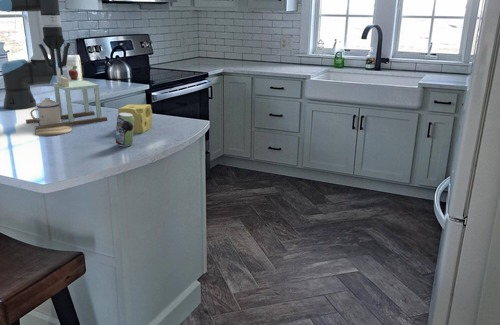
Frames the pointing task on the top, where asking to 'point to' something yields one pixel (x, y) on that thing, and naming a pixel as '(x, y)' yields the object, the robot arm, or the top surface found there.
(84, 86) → the small green table
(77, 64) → the juice carton
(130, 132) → the beverage can
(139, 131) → the cheese
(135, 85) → the top surface
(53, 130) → the trivet
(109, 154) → the top surface
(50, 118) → the teacup with lid
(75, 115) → the rails
